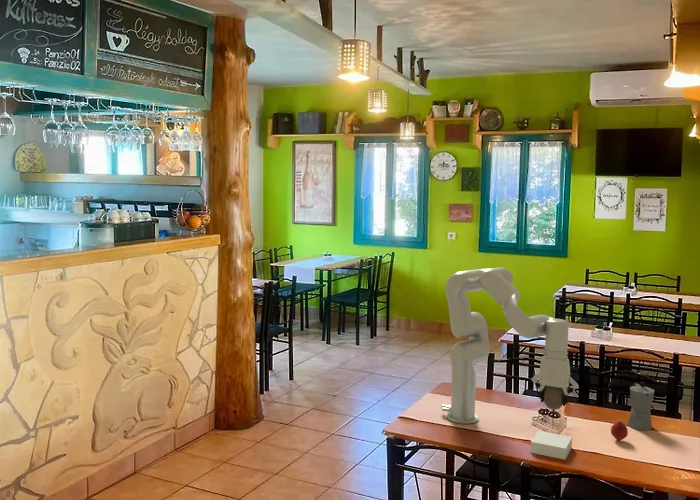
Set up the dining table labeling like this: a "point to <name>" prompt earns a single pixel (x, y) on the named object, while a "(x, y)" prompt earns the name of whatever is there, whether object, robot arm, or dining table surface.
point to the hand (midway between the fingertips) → (553, 402)
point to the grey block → (551, 445)
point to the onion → (619, 430)
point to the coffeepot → (640, 407)
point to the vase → (553, 398)
